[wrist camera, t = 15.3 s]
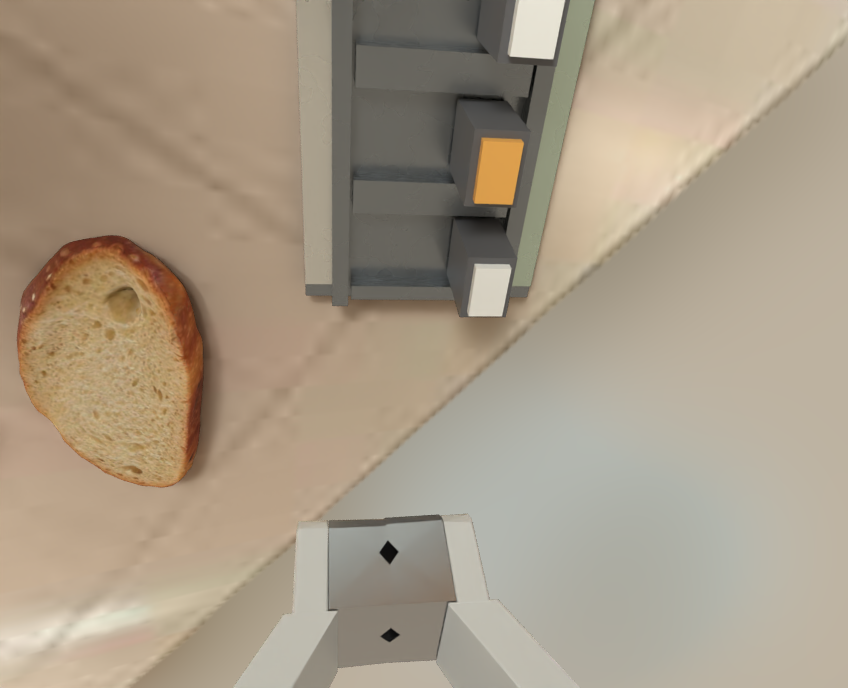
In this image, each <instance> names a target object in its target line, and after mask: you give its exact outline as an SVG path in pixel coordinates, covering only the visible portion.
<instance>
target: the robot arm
mask: <svg viewBox="0 0 848 688" xmlns="http://www.w3.org/2000/svg"><path fill="white" fill-rule="evenodd" d="M328 525H329V526H328ZM429 660H437V661H436V663H437V665H438V666H439V668H440V669H441V671H442V672H443V673H444V675H445V676H446V678H447V679H448V681H449V682H450V684H451V685H452V687H453V688H580V687H579V686H578V685H577V684H576V683H575V682H574V681H573V680H572V679H571V678H570V676H569V675H568V674H567V673H566V672H565V671H564V670H563V669H562V668H561V667H560V666H559V665H558V664H557V663H556V661H555V660H554V659H553V658H552V657H551V656H550V655H549V654H548V653H547V652H546V651H545V649H544V648H543V647H542V646H541V645H540V644H539V643H538V642H537V641H536V640H535V639H534V638H533V636H532V635H531V634H530V633H529V632H528V631H527V630H526V629H525V628H524V627H523V626H522V625H521V624H520V622H519V621H518V620H517V619H516V618H515V617H514V616H513V615H512V614H511V613H510V612H509V611H508V610H507V608H506V607H505V606H504V605H503V604H502V603H501V602H500V601H499V600H490V598H489V594H488V590H487V585H486V581H485V576H484V571H483V567H482V562H481V558H480V554H479V549H478V545H477V540H476V536H475V531H474V527H473V522H472V519H471V518H470V516H469V515H468V514H456V515H441V516H440V515H424V516H408V517H393V518H384V519H365V520H330V521H329V524H328V521H327V520H324V521H301V522H298V526H297V531H296V551H295V573H294V591H293V613H290V614H283V616H282V617H281V618H280V620H279V621H278V623H277V625H276V626H275V627H274V629H273V630H272V631H271V633H270V634H269V636H268V637H267V639H266V640H265V642H264V643H263V645H262V646H261V647H260V649H259V651H258V652H257V653H256V655H255V656H254V658H253V659H252V661H251V662H250V663H249V665H248V667H247V668H246V670H245V671H244V672H243V674H242V675H241V677H240V678H239V679H238V681H237V682H236V684H235V685H234V687H233V688H329V687H330V685H331V683H332V681H333V679H334V678H335V676H336V674H337V668H343V667H353V666H362V665H371V664H380V663H392V662H410V661H429Z"/></svg>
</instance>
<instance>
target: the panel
mask: <svg viewBox="0 0 848 688" xmlns="http://www.w3.org/2000/svg"><path fill="white" fill-rule="evenodd" d="M594 2H595V0H570V4H569V9H568V13H567V18H566V23H565V28H564V33H563V38H562V43H561V48H560V53H559V58H558V63H557V67H553V66H538V65H523V64H508V63H497V62H496V61H495V59H494V58H493V57H492V56H491V55H490V54H489V53H488V51H487V50H486V49H485V48H484V47H483V46H482V45H481V43H480V42H479V41H478V40H477V31H478V24H479V16H480V8H481V0H296V17H297V47H298V77H299V107H300V137H301V167H302V197H303V227H304V257H305V284H306V295H310V296H332V306H348V296H351V299H359V300H454V296H453V293H452V290H451V286H450V283H449V279H448V276H447V267H448V260H449V252H450V244H451V236H452V228H453V220H454V217H474V218H498V219H499V221H500V223H501V225H502V227H503V229H504V231H505V233H506V235H507V237H508V239H509V241H510V244H511V246H512V248H513V250H514V252H515V254H516V256H517V258H518V259H517V264H516V269H515V274H514V278H513V283H512V288H511V293H510V297H527V295H528V290H529V286H531V282H532V277H533V273H534V268H535V264H536V260H537V255H538V251H539V246H540V242H541V237H542V233H543V228H544V224H545V220H546V215H547V211H548V206H549V202H550V197H551V193H552V188H553V184H554V180H555V175H556V171H557V166H558V162H559V157H560V153H561V148H562V144H563V140H564V135H565V131H566V126H567V122H568V117H569V113H570V109H571V104H572V100H573V95H574V91H575V86H576V82H577V77H578V73H579V69H580V64H581V60H582V55H583V51H584V46H585V42H586V37H587V33H588V29H589V24H590V20H591V15H592V11H593V6H594ZM458 98H461V99H478V100H496V101H508V103H509V104H510V105H511V106H512V108H513V109H514V110H515V112H516V113H517V114H518V116H519V117H520V118H521V119H522V121H523V122H524V123H525V125H526V126H527V127H528V129H529V130H530V131H531V134H530V139H529V144H528V149H527V154H526V160H525V165H524V170H523V175H522V181H521V186H520V191H519V196H518V201H517V207H516V208H504V207H471V206H464V205H463V202H462V200H461V197H460V195H459V192H458V190H457V187H456V185H455V182H454V180H453V177H452V175H451V172H450V170H449V168H450V159H451V151H452V142H453V133H454V125H455V116H456V108H457V99H458Z"/></svg>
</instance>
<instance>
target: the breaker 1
mask: <svg viewBox="0 0 848 688" xmlns="http://www.w3.org/2000/svg"><path fill="white" fill-rule="evenodd" d="M517 259H518V258H517V256H516V254H515V252H514V250H513V248H512V246H511V244H510V241H509V239H508V237H507V235H506V233H505V231H504V229H503V227H502V225H501V223H500V221H499V219H498V218H474V217H454V220H453V228H452V236H451V244H450V252H449V260H448V267H447V276H448V279H449V283H450V286H451V290H452V293H453V296H454V300H455V303H456V307H457V310H458V314H459V317H506V313H507V308H508V303H509V298H510V293H511V288H512V283H513V278H514V274H515V269H516V264H517Z"/></svg>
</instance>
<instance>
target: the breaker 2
mask: <svg viewBox="0 0 848 688" xmlns="http://www.w3.org/2000/svg"><path fill="white" fill-rule="evenodd" d="M569 4H570V0H481V8H480V16H479V24H478V31H477V40H478V41H479V42H480V43H481V45H482V46H483V47H484V48H485V49H486V50H487V51H488V53H489V54H490V55H491V56H492V57H493V58H494V59H495V61H496V62H497V63H508V64H523V65H538V66H553V67H557V63H558V58H559V53H560V48H561V43H562V38H563V33H564V28H565V23H566V18H567V13H568V9H569Z"/></svg>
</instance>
